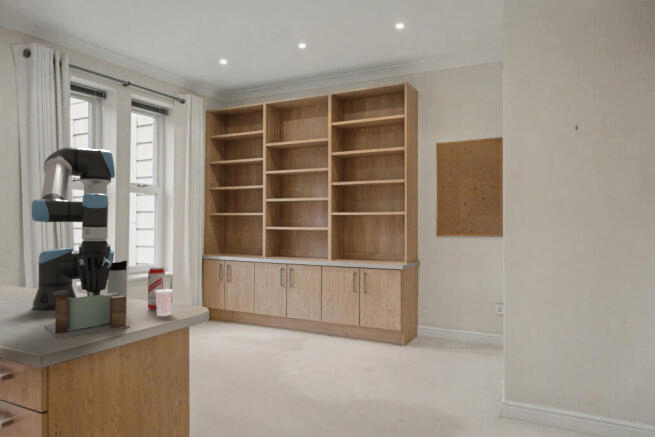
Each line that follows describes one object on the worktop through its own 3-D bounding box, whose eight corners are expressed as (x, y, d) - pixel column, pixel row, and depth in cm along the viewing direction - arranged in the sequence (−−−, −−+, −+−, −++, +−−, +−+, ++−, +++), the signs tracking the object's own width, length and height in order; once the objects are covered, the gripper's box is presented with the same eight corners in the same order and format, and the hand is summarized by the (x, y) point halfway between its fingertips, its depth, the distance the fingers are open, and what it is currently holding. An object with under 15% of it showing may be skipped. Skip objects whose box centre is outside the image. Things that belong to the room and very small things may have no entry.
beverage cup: (160, 317, 154) (160, 278, 155) (151, 314, 158) (152, 276, 159) (175, 314, 159) (176, 276, 159) (167, 312, 163) (167, 275, 163)
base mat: (44, 326, 140) (44, 325, 140) (110, 317, 154) (110, 316, 154) (58, 338, 125) (58, 337, 125) (129, 327, 139) (129, 326, 139)
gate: (66, 328, 134) (67, 298, 134) (115, 320, 145) (115, 292, 145) (70, 329, 132) (71, 299, 132) (119, 321, 143) (119, 293, 143)
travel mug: (119, 317, 153) (120, 261, 154) (103, 316, 155) (104, 261, 155) (131, 314, 160) (131, 260, 160) (115, 313, 161) (115, 259, 161)
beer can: (152, 307, 172) (152, 267, 172) (167, 307, 172) (167, 267, 172) (144, 310, 166) (145, 269, 166) (160, 310, 166) (161, 269, 166)
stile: (109, 327, 139) (109, 296, 139) (122, 325, 142) (122, 295, 142) (112, 329, 136) (113, 298, 136) (125, 327, 139) (126, 296, 139)
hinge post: (51, 333, 131) (52, 291, 131) (68, 331, 134) (68, 290, 134) (54, 336, 128) (55, 293, 128) (71, 333, 131) (72, 291, 131)
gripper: (69, 240, 140) (67, 312, 140) (102, 241, 137) (100, 315, 137) (87, 239, 148) (86, 308, 147) (119, 240, 144) (117, 310, 144)
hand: (93, 311), depth 142 cm, fingers closed
